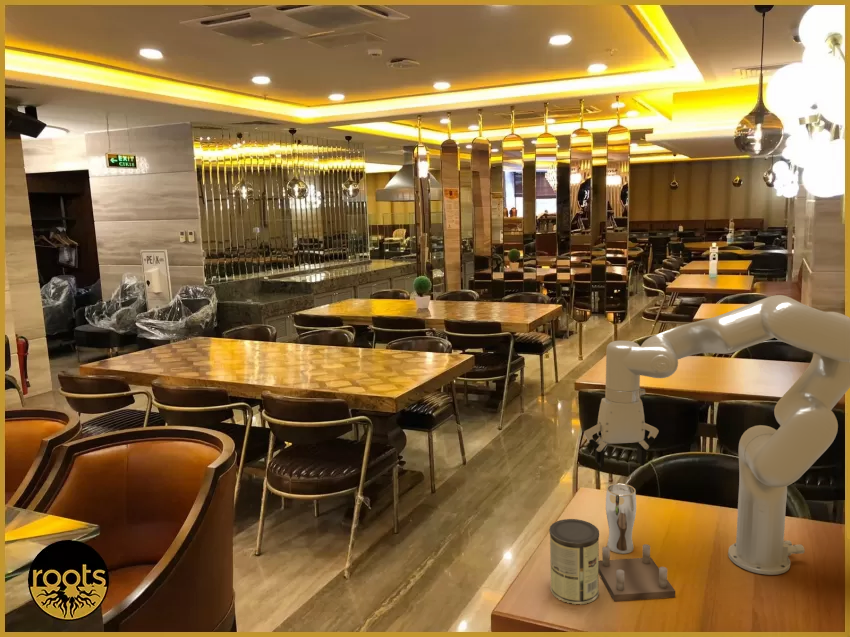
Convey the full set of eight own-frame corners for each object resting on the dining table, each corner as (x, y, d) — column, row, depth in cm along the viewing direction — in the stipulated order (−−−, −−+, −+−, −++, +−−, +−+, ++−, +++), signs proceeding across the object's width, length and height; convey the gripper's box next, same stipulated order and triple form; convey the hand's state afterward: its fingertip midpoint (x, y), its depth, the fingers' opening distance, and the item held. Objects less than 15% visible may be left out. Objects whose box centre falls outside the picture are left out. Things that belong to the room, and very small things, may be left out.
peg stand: (650, 563, 147) (651, 541, 146) (675, 597, 134) (675, 573, 133) (595, 566, 147) (595, 544, 146) (614, 601, 134) (614, 577, 133)
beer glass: (641, 548, 153) (642, 490, 151) (622, 558, 150) (623, 498, 147) (618, 536, 159) (618, 480, 157) (599, 546, 155) (599, 488, 153)
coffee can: (557, 572, 145) (557, 515, 143) (603, 583, 140) (604, 523, 138) (543, 597, 136) (543, 536, 134) (592, 610, 131) (593, 547, 129)
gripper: (652, 388, 152) (650, 456, 155) (580, 391, 151) (579, 459, 154) (665, 397, 144) (663, 469, 147) (590, 401, 144) (588, 472, 147)
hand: (620, 464), depth 151 cm, fingers open, 9 cm apart
